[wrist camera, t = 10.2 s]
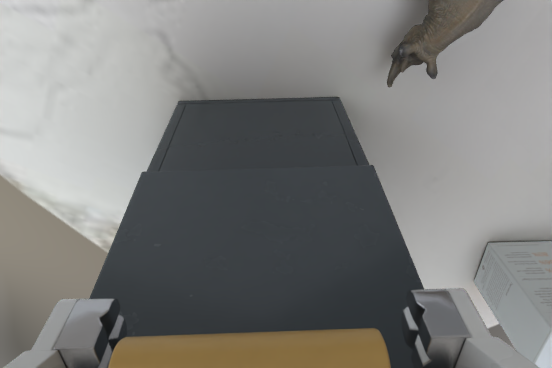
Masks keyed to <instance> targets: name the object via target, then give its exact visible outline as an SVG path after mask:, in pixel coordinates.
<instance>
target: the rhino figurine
mask: <svg viewBox="0 0 552 368" xmlns="http://www.w3.org/2000/svg"><path fill="white" fill-rule="evenodd" d="M502 1H503V0H429V12H428V14H427V15H426V16H425V19H424V21H423V24H420V25H415V26H414V27H412V28H411V30H410V31H409V32H408V33H407V34H406V35H405V37H404V39H403V41H402V42H401V43H400V45H399V46H398V47H397V48H396V49H395V50H394V52H393V54H392V55H391V56H392V58H393V61H392V65H391V68H390V72H389V75H388V80H387V85H388V87H391V86H392V84H393V81H394V80H395V78H396V77H397V76H398V74H399V73H400V72H404V71H405V70H406V69H407V68H408V67H410V66H411V65H420V64H422V63H423V62H425V63H426V64H427V68H426V72H427V74H428V75H429V76H430V77H431V78H432V79H435V78H436V75H437V66H436V58H437V55H438V54H439V53H440V52H441V51H443V50H444V49H445V48H446V47H447V46H448V45H449V44H451V43H452V42H454V41H455V40H457V39H458V38H460V37H461V36H463V35H464V34H466V33H468V32H470V31H472V30H474V29H476V28H478V27H479V26H480V25H481V24H482V23H483V22H484V21H485V20H486V19H487V17H488V16H489V15H490V14H491V12H492V11H493V9H494V8H495V7H496V6H497V5H498V4H499V3H501V2H502Z"/></svg>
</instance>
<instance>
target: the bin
mask: <svg viewBox="0 0 552 368" xmlns="http://www.w3.org/2000/svg"><path fill="white" fill-rule="evenodd" d="M360 165H369V163H368V161H367V159H366V156H365V154H364V152H363V150H362V147H361V145H360V143H359V141H358V138H357V136H356V134H355V132H354V129H353V127H352V125H351V123H350V120H349V118H348V116H347V114H346V112H345V109H344V107H343V105H342V103H341V101H340V98H339V97H321V98H282V99H243V100H203V101H179V102H178V104H177V106H176V108H175V110H174V113H173V115H172V117H171V119H170V121H169V124H168V126H167V128H166V130H165V132H164V135H163V137H162V139H161V141H160V143H159V145H158V148H157V150H156V152H155V154H154V156H153V159H152V161H151V163H150V165H149V167H148V170H147V172H150V171H185V170H220V169H255V168H290V167H325V166H360Z"/></svg>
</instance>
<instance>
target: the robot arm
mask: <svg viewBox="0 0 552 368" xmlns="http://www.w3.org/2000/svg"><path fill="white" fill-rule="evenodd" d="M406 302H407V305H408V306H407V307H406V308H405V309H404V310H403V313H402V318H401V320H402V331H403V336H404V339H405V342H406V344H407V345H408V346H409V347H410V348H411V349H413V352H412V356H411V360H412V363H413V366H414V368H539V367H538V366H537V365H535V364H534V363H533V362H531V361H530V360H528V359H527V358H526V357H524V356H523V355H522V354H520V353H519V352H517V351H516V350H515V349H513V348H512V347H511V346H509V345H508V344H506V343H505V342H504V341H502V340H501V339H500V338H498V337H492V336H491V334H490V332H489V331H488V329H487V327H486V325H485V323H484V322H483V320H482V318H481V316H480V315H479V313H478V311H477V309H476V307H475V306H474V304H473V302H472V300H471V298H470V297H469V295H468V293H467V291H466V290H464V289H463V288H457V289H424V290H409V291H408V293H407V295H406ZM120 309H121V305H120V303H119V300H118V299H61V300H60V301H59V302H58V303H57V304H56V305H55V307H54V309H53V311H52V313H51V315H50V316H49V318H48V320H47V322H46V324H45V326H44V328H43V329H42V331H41V333H40V335H39V337H38V339H37V340H36V342H35V344H34V346H33V348H32V349H31V351H24V352H23V353H22V354H21V355H19V356H18V357H17V358H15V359H14V360H13V361H11V362H10V363H9V364H8V365H6V366H5V367H4V368H108V366H109V362H110V359H111V356H112V353H113V351H114V348H115V346H116V345H117V343H118V342H119V341H120V340H121V339H123V338H125V337H127V325H126V321H125V318H124V317H123V316H121V315H120V314H119V312H120Z"/></svg>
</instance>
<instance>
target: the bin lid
mask: <svg viewBox="0 0 552 368" xmlns="http://www.w3.org/2000/svg"><path fill="white" fill-rule="evenodd" d="M409 290H424V288H423V285H422V283H421V280H420V278H419V275H418V273H417V271H416V268H415V266H414V263H413V261H412V258H411V256H410V254H409V251H408V249H407V246H406V244H405V241H404V239H403V237H402V234H401V232H400V229H399V227H398V224H397V222H396V220H395V217H394V215H393V212H392V210H391V207H390V205H389V203H388V200H387V198H386V195H385V193H384V190H383V188H382V186H381V183H380V181H379V178H378V176H377V173H376V171H375V169H374V166H373V165H360V166H325V167H290V168H255V169H220V170H185V171H150V172H142V173H141V176H140V178H139V181H138V183H137V185H136V188H135V190H134V193H133V195H132V197H131V200H130V202H129V205H128V207H127V209H126V212H125V214H124V217H123V219H122V222H121V224H120V226H119V229H118V231H117V234H116V236H115V238H114V241H113V243H112V246H111V248H110V250H109V253H108V255H107V258H106V260H105V263H104V265H103V267H102V270H101V272H100V274H99V277H98V279H97V282H96V284H95V286H94V289H93V291H92V294H91V296H90V298H89V299H118V300H119V303H120V305H121V309H120V312H119V314H120V315H121V316H123V317H124V318H125V321H126V325H127V337H125V338H123V339H121V340H120V341H119V342H118V343H117V345H116V346H115V348H114V351H113V353H112V356H111V359H110V362H109V366H108V368H414V366H413V363H412V360H411V356H412V352H413V349H411V348H410V347H409V346H408V345H407V344H406V342H405V339H404V336H403V331H402V320H401V318H402V313H403V310H404V309H405V308H406V307H407V306H408V305H407V302H406V295H407V293H408V291H409Z"/></svg>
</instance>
